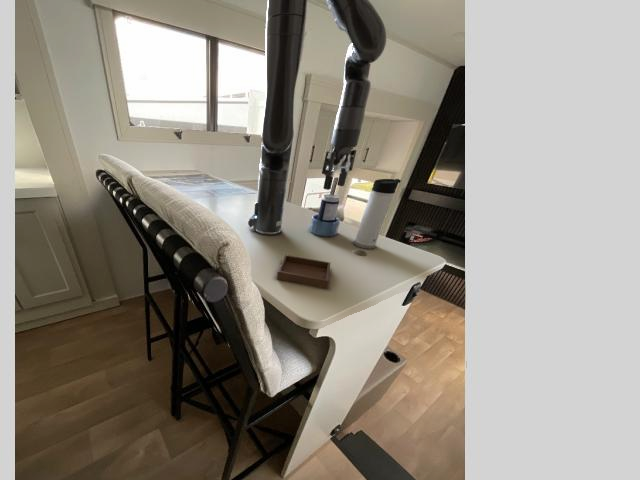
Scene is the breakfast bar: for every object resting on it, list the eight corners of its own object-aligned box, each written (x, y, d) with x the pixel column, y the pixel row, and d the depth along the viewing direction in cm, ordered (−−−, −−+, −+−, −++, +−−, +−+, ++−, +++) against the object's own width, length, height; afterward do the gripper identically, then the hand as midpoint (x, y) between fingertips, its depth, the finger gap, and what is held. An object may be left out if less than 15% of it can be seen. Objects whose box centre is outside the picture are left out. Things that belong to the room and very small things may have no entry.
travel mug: (377, 250, 79) (404, 181, 68) (355, 247, 80) (378, 179, 69) (373, 242, 84) (397, 177, 73) (352, 240, 85) (373, 175, 74)
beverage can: (333, 230, 91) (342, 196, 84) (328, 235, 87) (337, 199, 80) (317, 227, 93) (325, 193, 86) (312, 231, 89) (320, 196, 82)
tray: (276, 278, 63) (277, 271, 61) (283, 261, 71) (285, 254, 69) (326, 288, 60) (328, 281, 59) (328, 269, 68) (330, 262, 66)
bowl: (308, 234, 88) (311, 220, 85) (310, 226, 95) (313, 212, 92) (336, 238, 86) (339, 224, 83) (336, 229, 93) (340, 216, 90)
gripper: (347, 126, 78) (334, 183, 88) (322, 126, 70) (311, 188, 80) (371, 127, 74) (355, 186, 83) (347, 127, 66) (332, 192, 75)
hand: (333, 187), depth 82 cm, fingers open, 8 cm apart
